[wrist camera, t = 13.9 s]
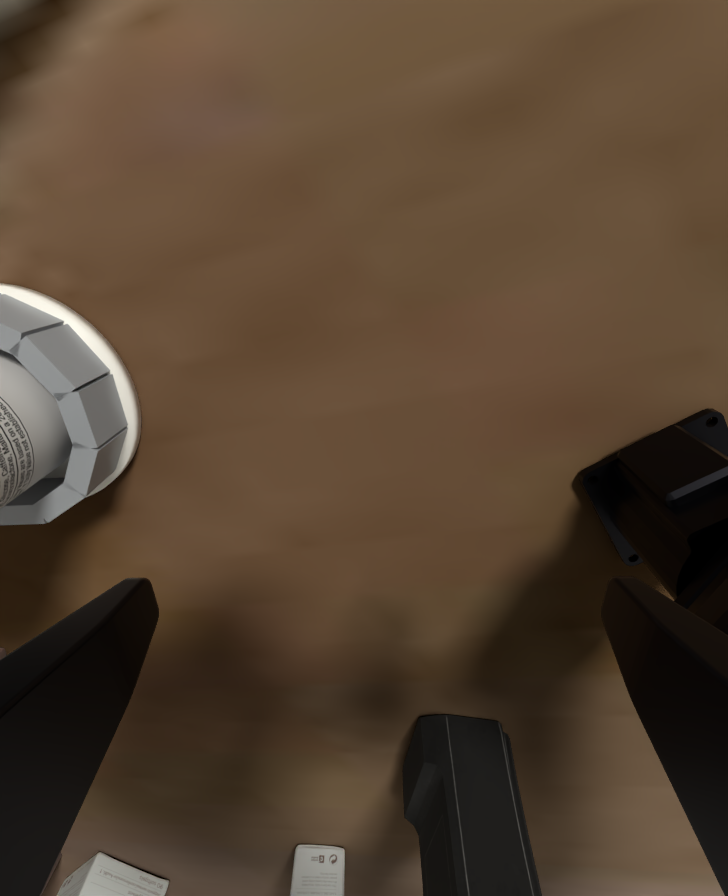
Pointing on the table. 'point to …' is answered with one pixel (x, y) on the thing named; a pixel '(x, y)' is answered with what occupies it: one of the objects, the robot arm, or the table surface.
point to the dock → (70, 400)
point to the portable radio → (467, 809)
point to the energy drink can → (27, 430)
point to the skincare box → (318, 871)
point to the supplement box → (111, 880)
